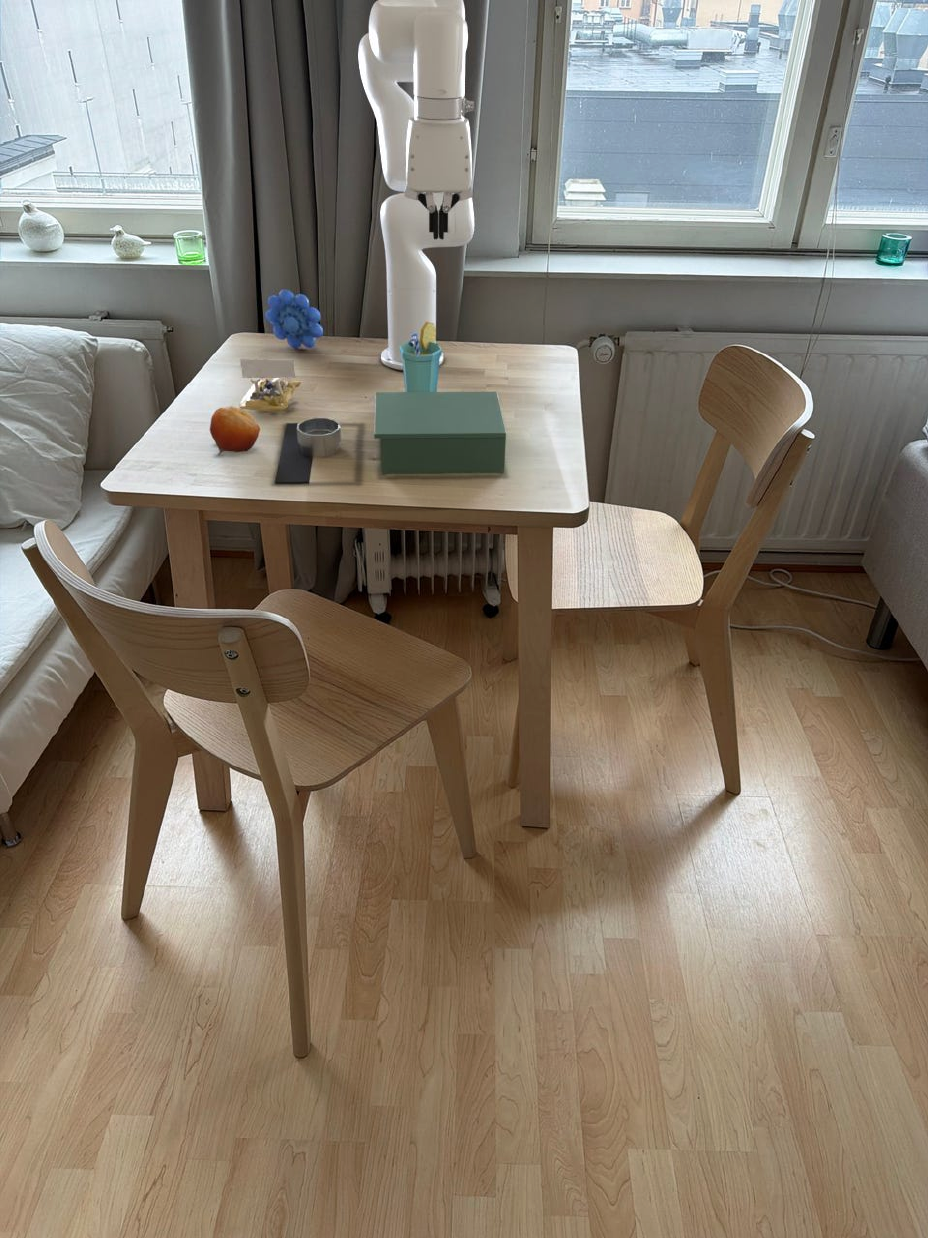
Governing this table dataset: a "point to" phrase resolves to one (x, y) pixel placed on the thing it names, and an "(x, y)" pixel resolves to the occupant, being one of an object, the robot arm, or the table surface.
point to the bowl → (319, 437)
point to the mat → (292, 460)
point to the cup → (421, 361)
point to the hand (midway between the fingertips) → (438, 236)
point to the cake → (268, 384)
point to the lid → (438, 415)
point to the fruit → (233, 429)
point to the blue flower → (294, 319)
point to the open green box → (442, 455)
